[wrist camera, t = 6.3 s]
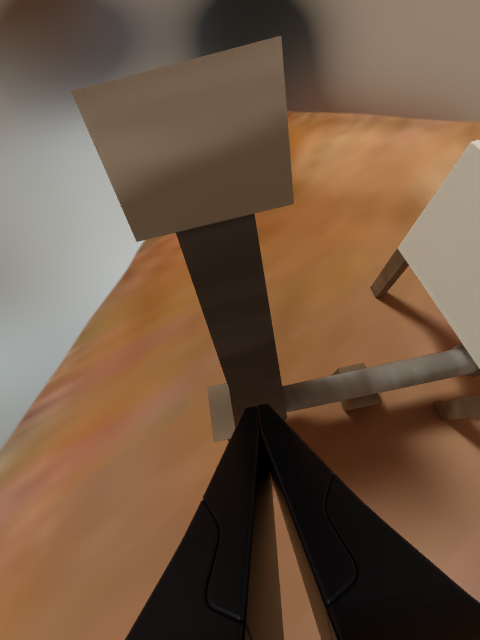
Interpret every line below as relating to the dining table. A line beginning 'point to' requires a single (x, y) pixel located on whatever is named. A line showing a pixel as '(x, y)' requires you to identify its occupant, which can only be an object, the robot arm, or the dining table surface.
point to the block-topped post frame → (225, 208)
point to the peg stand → (225, 410)
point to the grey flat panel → (452, 249)
